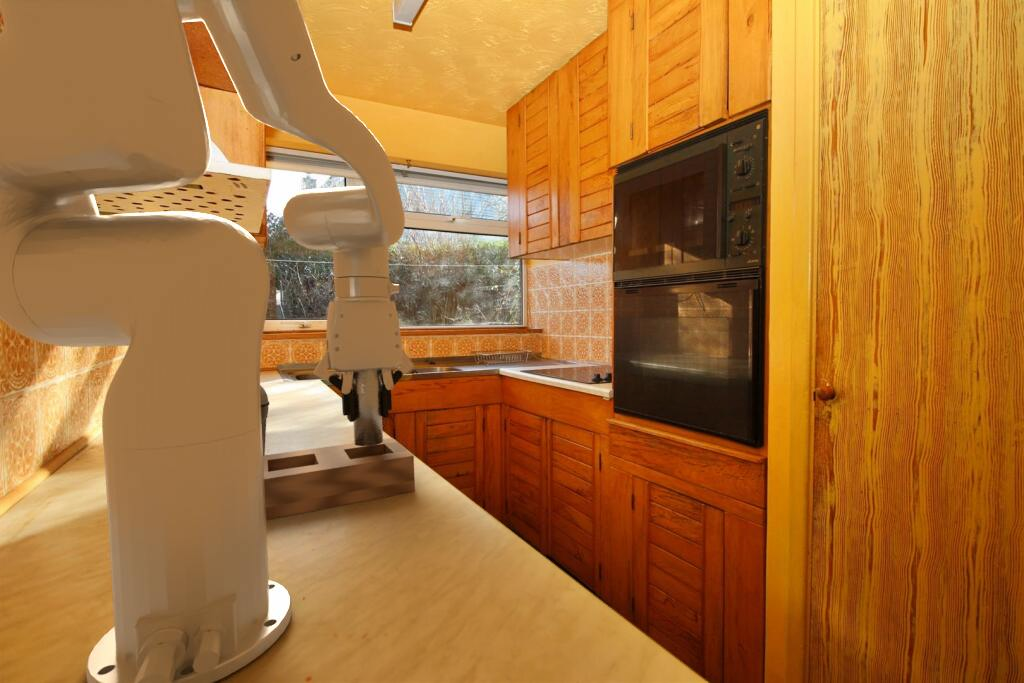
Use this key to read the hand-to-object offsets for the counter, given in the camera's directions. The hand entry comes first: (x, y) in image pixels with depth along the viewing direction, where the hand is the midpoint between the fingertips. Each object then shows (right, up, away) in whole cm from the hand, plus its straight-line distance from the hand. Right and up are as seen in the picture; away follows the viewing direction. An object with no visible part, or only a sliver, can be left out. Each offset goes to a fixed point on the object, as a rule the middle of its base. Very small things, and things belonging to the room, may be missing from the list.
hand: (367, 416), depth 68 cm
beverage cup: (-20, -11, +3) cm, 22 cm away
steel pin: (0, -4, 0) cm, 4 cm away
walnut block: (-4, -10, -2) cm, 11 cm away
